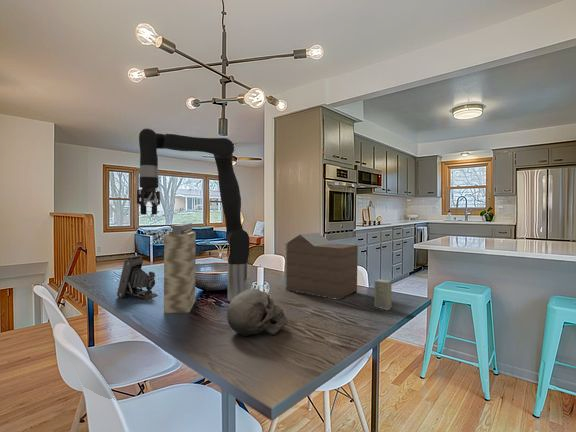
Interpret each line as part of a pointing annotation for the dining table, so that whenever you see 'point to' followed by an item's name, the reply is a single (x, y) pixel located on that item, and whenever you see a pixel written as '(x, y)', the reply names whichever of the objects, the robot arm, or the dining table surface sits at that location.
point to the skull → (255, 313)
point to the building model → (321, 266)
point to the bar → (181, 228)
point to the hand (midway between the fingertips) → (149, 214)
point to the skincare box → (383, 293)
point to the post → (179, 271)
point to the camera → (135, 279)
